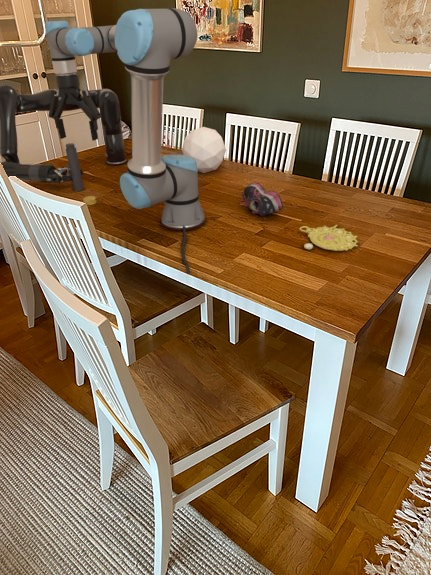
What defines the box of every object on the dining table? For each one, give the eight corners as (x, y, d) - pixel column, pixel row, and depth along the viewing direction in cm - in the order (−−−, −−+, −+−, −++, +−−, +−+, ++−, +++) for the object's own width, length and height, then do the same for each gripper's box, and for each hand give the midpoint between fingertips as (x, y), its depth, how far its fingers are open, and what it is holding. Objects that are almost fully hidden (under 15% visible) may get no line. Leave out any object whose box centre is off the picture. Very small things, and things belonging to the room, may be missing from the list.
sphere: (210, 188, 203) (207, 161, 184) (176, 167, 208) (170, 139, 189) (234, 159, 208) (234, 131, 189) (200, 139, 213) (197, 110, 194)
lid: (99, 202, 174) (98, 197, 173) (89, 206, 171) (88, 201, 170) (90, 199, 177) (89, 195, 176) (81, 203, 173) (80, 199, 172)
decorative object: (343, 255, 128) (285, 234, 139) (342, 262, 130) (284, 241, 140) (372, 230, 142) (317, 213, 152) (371, 237, 143) (316, 219, 153)
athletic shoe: (254, 181, 170) (227, 189, 167) (283, 176, 151) (253, 185, 147) (260, 210, 173) (234, 218, 170) (290, 209, 154) (261, 219, 150)
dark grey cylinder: (71, 190, 187) (62, 145, 177) (78, 187, 190) (69, 142, 180) (79, 191, 185) (69, 146, 175) (85, 188, 188) (77, 143, 178)
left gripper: (30, 169, 179) (66, 171, 176) (49, 159, 191) (83, 161, 188) (35, 187, 184) (70, 189, 180) (53, 176, 195) (86, 178, 192)
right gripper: (104, 72, 148) (114, 137, 160) (42, 72, 156) (56, 134, 167) (92, 75, 142) (103, 143, 154) (28, 75, 150) (43, 139, 161)
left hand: (77, 175), depth 184 cm, fingers open, 8 cm apart
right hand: (79, 138), depth 160 cm, fingers open, 13 cm apart
